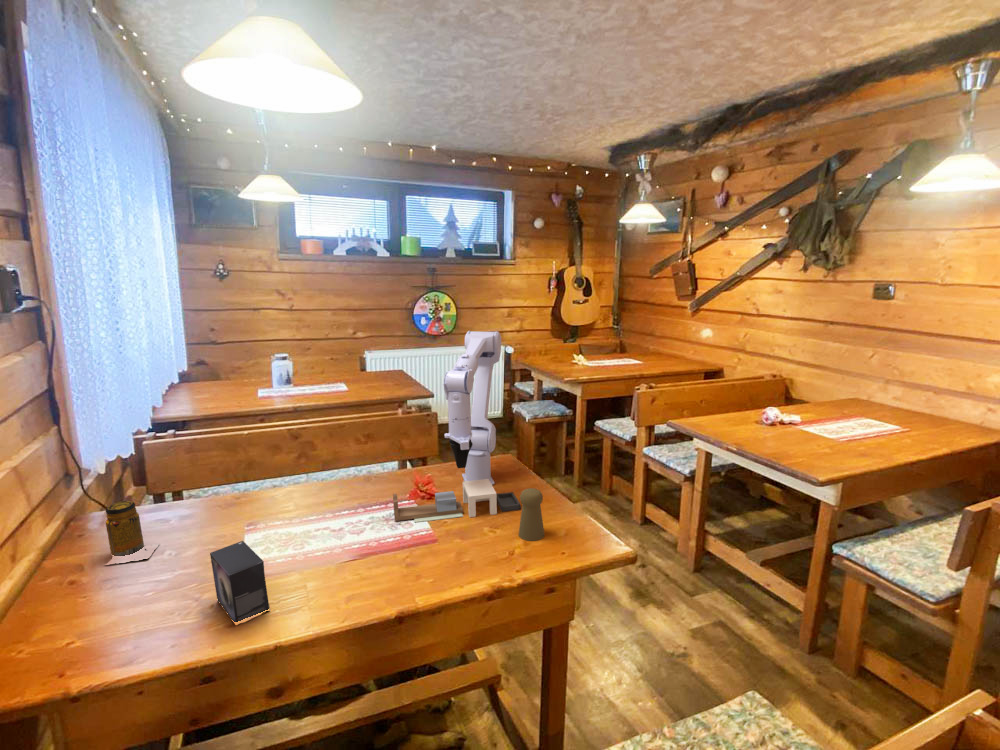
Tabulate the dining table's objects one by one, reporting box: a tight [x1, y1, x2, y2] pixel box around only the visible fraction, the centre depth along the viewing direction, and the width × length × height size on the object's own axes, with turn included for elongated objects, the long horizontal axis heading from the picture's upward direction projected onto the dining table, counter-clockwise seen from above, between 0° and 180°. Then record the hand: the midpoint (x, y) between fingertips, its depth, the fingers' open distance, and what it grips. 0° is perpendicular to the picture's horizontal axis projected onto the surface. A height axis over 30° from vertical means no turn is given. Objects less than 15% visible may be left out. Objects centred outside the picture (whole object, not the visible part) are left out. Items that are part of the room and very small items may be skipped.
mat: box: [413, 513, 464, 523], centre depth 137 cm, size 8×12×1 cm, turn 103°
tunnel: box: [462, 479, 498, 518], centre depth 139 cm, size 10×7×6 cm
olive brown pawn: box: [518, 487, 545, 542], centre depth 124 cm, size 6×6×11 cm
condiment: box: [105, 500, 145, 556], centre depth 118 cm, size 7×8×12 cm
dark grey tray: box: [496, 491, 522, 513], centre depth 141 cm, size 8×5×1 cm, turn 13°
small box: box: [209, 540, 271, 622], centre depth 100 cm, size 11×6×10 cm, turn 45°
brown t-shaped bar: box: [392, 490, 464, 522], centre depth 136 cm, size 5×17×5 cm, turn 103°
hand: (461, 467), depth 139 cm, fingers closed
